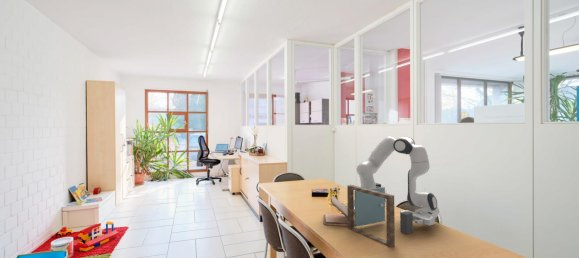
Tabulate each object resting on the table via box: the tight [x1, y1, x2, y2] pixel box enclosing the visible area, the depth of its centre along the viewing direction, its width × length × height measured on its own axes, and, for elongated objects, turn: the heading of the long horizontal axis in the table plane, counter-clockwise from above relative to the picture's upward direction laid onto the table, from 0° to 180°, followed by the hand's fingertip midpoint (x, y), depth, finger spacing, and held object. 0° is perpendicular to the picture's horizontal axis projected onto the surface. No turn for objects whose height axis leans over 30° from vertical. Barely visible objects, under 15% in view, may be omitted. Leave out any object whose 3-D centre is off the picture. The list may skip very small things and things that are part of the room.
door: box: [354, 186, 386, 228], centre depth 174 cm, size 24×3×23 cm, turn 113°
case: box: [323, 195, 355, 227], centre depth 185 cm, size 20×21×16 cm
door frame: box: [346, 184, 396, 248], centre depth 158 cm, size 32×3×28 cm, turn 33°
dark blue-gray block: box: [399, 210, 414, 235], centre depth 164 cm, size 4×6×12 cm
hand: (409, 219), depth 165 cm, fingers open, 8 cm apart
